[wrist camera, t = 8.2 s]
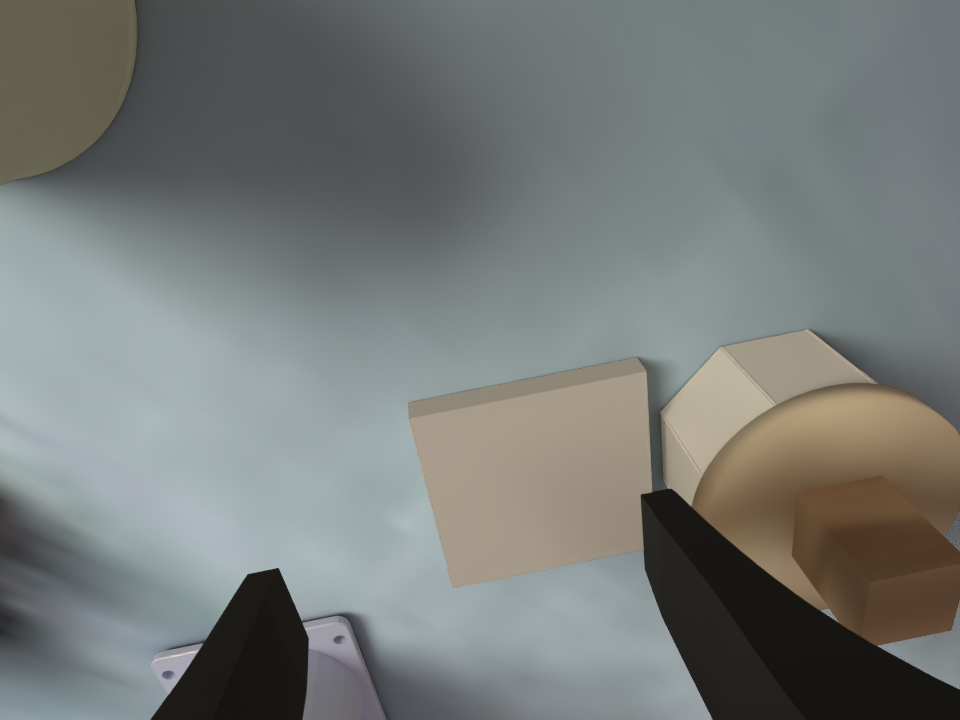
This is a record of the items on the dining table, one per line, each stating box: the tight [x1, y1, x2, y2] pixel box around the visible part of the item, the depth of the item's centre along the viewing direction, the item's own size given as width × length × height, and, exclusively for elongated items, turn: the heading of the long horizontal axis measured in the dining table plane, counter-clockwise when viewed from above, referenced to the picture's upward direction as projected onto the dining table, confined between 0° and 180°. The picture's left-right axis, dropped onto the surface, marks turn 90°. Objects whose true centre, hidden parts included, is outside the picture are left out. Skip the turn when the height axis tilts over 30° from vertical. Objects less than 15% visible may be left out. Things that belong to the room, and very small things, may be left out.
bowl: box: [660, 329, 879, 506], centre depth 23 cm, size 8×8×4 cm
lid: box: [691, 383, 960, 646], centre depth 19 cm, size 8×8×4 cm
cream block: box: [408, 357, 652, 588], centre depth 24 cm, size 8×8×1 cm
